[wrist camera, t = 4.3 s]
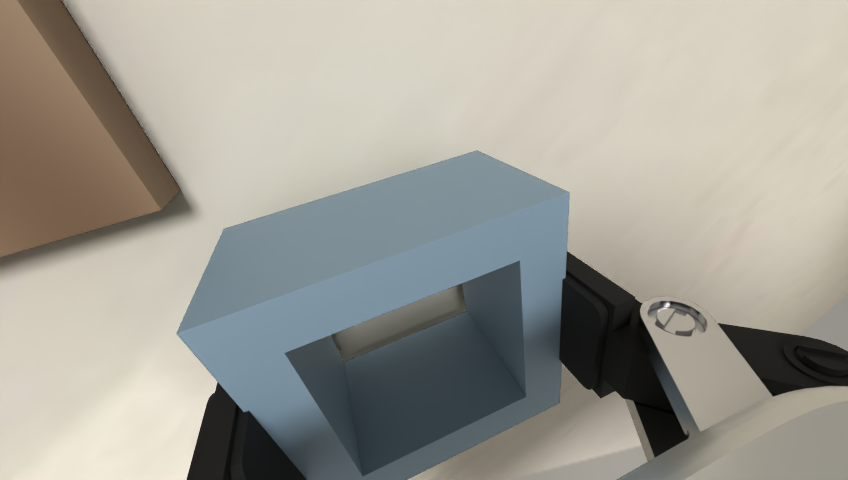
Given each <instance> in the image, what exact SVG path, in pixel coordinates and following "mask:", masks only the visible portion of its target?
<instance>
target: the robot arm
mask: <svg viewBox="0 0 848 480" xmlns="http://www.w3.org/2000/svg"><path fill="white" fill-rule="evenodd" d="M559 360H560V361H561V362H562V363H563V364H564V365H565V366H566V367H567V369H568V370H569V371H570V372H571V373H572V374H573V375H574V376H575V377H576V379H577V380H578V381H579V382H580V383H581V384H582V385H583V386H584V387H585V388H586V389H589V390H590V389H593V390H594V391H595V393H596V394H597V395H598V396H599V397H600V398H602V397H604V396H606V395H608V394H610V393H612V392H614V391H616V392H617V393H618V394H619V395H620V396H621V397H622V398H624V399H625V400H626V403H627V406H628V409H629V411H630V414H631V417H632V420H633V422H634V425H635V428H636V431H637V434H638V436H639V439H640V442H641V445H642V447H643V450H644V453H645V456H646V458H647V461H648V462H647V463H645V464H643V465H641V466H640V467H638V468H636V469H634V470H633V471H631V472H629V473H627V474H626V475H624V476H622V477H620V478H619V479H617V480H848V351H846V350H844V349H842V348H840V347H838V346H836V345H832V344H830V343H827V342H825V341H822V340H818V339H813V338H809V337H805V336H798V335H792V334H785V333H779V332H772V331H765V330H759V329H752V328H746V327H739V326H733V325H726V324H719V323H717V322H716V321H715V320H714V318H713V317H712V316H711V315H710V314H709V313H708V312H707V311H706V310H704V309H703V308H701V307H700V306H698V305H696V304H694V303H692V302H689V301H687V300H684V299H680V298H675V297H665V296H662V297H654V298H651V299H649V300H646V301H645V302H644V303H643V304H642V303H640V302H639V301H637V300H636V299H635V297H634V296H633V295H631V294H630V293H628V292H627V291H625V290H624V289H622V288H621V287H619V286H618V285H616V284H615V283H613V282H612V281H610V280H609V279H607V278H606V277H604V276H603V275H601V274H600V273H598V272H597V271H596V270H594V269H593V268H591V267H590V266H588V265H587V264H585V263H584V262H582V261H581V260H579V259H578V258H576V257H575V256H573V255H572V254H570V253H569V252H567V257H566V278H564V279H562V302H561V326H560V351H559ZM187 480H306V478H305V477H304V475H303V474H302V473H301V472H300V471H299V470H298V468H297V467H296V466H295V465H294V464H293V462H292V461H291V460H290V459H289V458H288V456H287V455H286V454H285V453H284V452H283V450H282V449H281V448H280V447H279V446H278V445H277V443H276V442H275V441H274V440H273V439H272V437H271V436H270V435H269V434H268V433H267V431H266V430H265V429H264V428H263V427H262V426H261V424H260V423H259V422H258V421H257V420H256V418H255V417H254V416H253V415H252V414H251V412H250V411H246V412H243V411H242V409H241V408H240V407H239V406H238V405H237V404H236V402H235V401H234V400H233V399H232V398H231V397H230V395H229V394H228V393H227V392H226V391H225V390H224V388H223V387H222V386H221V385H220V384H219V383H217V387H216V391H215V393H213V394H212V395H211V396H210V398H209V400H208V402H207V405H206V409H205V413H204V417H203V420H202V424H201V428H200V432H199V435H198V439H197V443H196V447H195V450H194V454H193V458H192V462H191V465H190V469H189V473H188V477H187Z"/></svg>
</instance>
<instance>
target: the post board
mask: <svg viewBox="0 0 848 480" xmlns="http://www.w3.org/2000/svg"><path fill="white" fill-rule="evenodd" d="M179 191H180V189H179V187H178V185H177V184H176V182H175V181H174V179H173V177H172V176H171V174H170V173H169V171H168V170H167V168H166V166H165V165H164V163H163V162H162V160H161V158H160V157H159V155H158V154H157V152H156V151H155V149H154V147H153V146H152V144H151V143H150V141H149V139H148V138H147V136H146V135H145V133H144V132H143V130H142V128H141V127H140V125H139V124H138V122H137V120H136V119H135V117H134V116H133V114H132V112H131V111H130V109H129V108H128V106H127V105H126V103H125V101H124V100H123V98H122V97H121V95H120V93H119V92H118V90H117V89H116V87H115V86H114V84H113V82H112V81H111V79H110V78H109V76H108V74H107V73H106V71H105V70H104V68H103V66H102V65H101V63H100V62H99V60H98V59H97V57H96V55H95V54H94V52H93V51H92V49H91V47H90V46H89V44H88V43H87V41H86V40H85V38H84V36H83V35H82V33H81V32H80V30H79V28H78V27H77V25H76V24H75V22H74V21H73V19H72V17H71V16H70V14H69V13H68V11H67V9H66V8H65V6H64V5H63V3H62V1H61V0H0V257H3V256H6V255H9V254H13V253H16V252H20V251H23V250H26V249H30V248H33V247H37V246H40V245H44V244H47V243H50V242H54V241H57V240H61V239H64V238H68V237H71V236H74V235H78V234H81V233H85V232H88V231H91V230H95V229H98V228H102V227H105V226H109V225H112V224H115V223H119V222H122V221H126V220H129V219H133V218H136V217H139V216H143V215H146V214H150V213H153V212H156V211H160V210H162V209H163V208H164V207H165V206H166V205H167V204H168V203H169V202H170V200H171V199H172V198H173V197H174V196H175V195H176V194H177V193H178V192H179Z"/></svg>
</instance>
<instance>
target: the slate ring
mask: <svg viewBox="0 0 848 480" xmlns="http://www.w3.org/2000/svg"><path fill="white" fill-rule="evenodd" d="M569 193H570V192H568V191H565V190H563V189H561V188H559V187H557V186H554V185H552V184H550V183H548V182H546V181H543V180H541V179H539V178H537V177H534V176H532V175H530V174H528V173H526V172H523V171H521V170H519V169H517V168H515V167H512V166H510V165H508V164H506V163H503V162H501V161H499V160H497V159H495V158H492V157H490V156H488V155H486V154H484V153H481V152H479V151H474V152H471V153H467V154H464V155H461V156H458V157H454V158H451V159H448V160H445V161H441V162H438V163H435V164H432V165H429V166H425V167H422V168H419V169H416V170H412V171H409V172H406V173H403V174H399V175H396V176H393V177H390V178H386V179H383V180H380V181H377V182H374V183H370V184H367V185H364V186H361V187H357V188H354V189H351V190H348V191H344V192H341V193H338V194H335V195H332V196H328V197H325V198H322V199H319V200H315V201H312V202H309V203H306V204H302V205H299V206H296V207H293V208H290V209H286V210H283V211H280V212H277V213H273V214H270V215H267V216H264V217H260V218H257V219H254V220H251V221H248V222H244V223H241V224H238V225H235V226H231V227H228V228H225V229H224V230H223V232H222V234H221V236H220V239H219V241H218V243H217V245H216V247H215V250H214V252H213V254H212V256H211V258H210V261H209V263H208V265H207V267H206V269H205V272H204V274H203V276H202V278H201V280H200V283H199V285H198V287H197V289H196V291H195V294H194V296H193V298H192V300H191V302H190V305H189V307H188V309H187V311H186V313H185V316H184V318H183V320H182V322H181V324H180V327H179V329H178V331H177V333H176V334H177V335H178V336H179V337H180V338H181V340H182V341H183V342H184V343H185V344H186V345H187V346H188V348H189V349H190V350H191V351H192V352H193V353H194V355H195V356H196V357H197V358H198V359H199V360H200V362H201V363H202V364H203V365H204V366H205V367H206V369H207V370H208V371H209V372H210V373H211V374H212V376H213V377H214V378H215V379H216V380H217V381H218V383H219V384H220V385H221V386H222V387H223V388H224V390H225V391H226V392H227V393H228V394H229V395H230V397H231V398H232V399H233V400H234V401H235V402H236V404H237V405H238V406H239V407H240V408H241V409H242V411H243V412H246V411H250V412H251V414H252V415H253V416H254V417H255V418H256V420H257V421H258V422H259V423H260V424H261V426H262V427H263V428H264V429H265V430H266V431H267V433H268V434H269V435H270V436H271V437H272V439H273V440H274V441H275V442H276V443H277V445H278V446H279V447H280V448H281V449H282V450H283V452H284V453H285V454H286V455H287V456H288V458H289V459H290V460H291V461H292V462H293V464H294V465H295V466H296V467H297V468H298V470H299V471H300V472H301V473H302V474H303V475H304V477H305V478H306V480H407V479H409V478H411V477H413V476H415V475H417V474H419V473H421V472H423V471H425V470H427V469H429V468H431V467H433V466H435V465H437V464H439V463H441V462H443V461H445V460H447V459H449V458H451V457H453V456H455V455H457V454H459V453H461V452H463V451H465V450H467V449H469V448H471V447H473V446H475V445H477V444H479V443H481V442H483V441H485V440H487V439H489V438H491V437H493V436H495V435H497V434H499V433H501V432H503V431H505V430H507V429H509V428H510V427H512V426H514V425H516V424H518V423H520V422H522V421H524V420H526V419H528V418H530V417H532V416H534V415H536V414H538V413H540V412H542V411H544V410H546V409H548V408H550V407H552V406H554V405H556V404H558V403H560V383H561V361H560V360H559V351H560V326H561V302H562V279H564V278H566V257H567V235H568V214H569ZM461 283H462V288H463V294H464V300H465V306H466V312H464V313H461V314H459V315H457V316H454V317H452V318H449V319H447V320H444V321H442V322H440V323H437V324H435V325H432V326H430V327H428V328H425V329H423V330H420V331H418V332H415V333H413V334H411V335H408V336H406V337H403V338H401V339H398V340H396V341H394V342H391V343H389V344H386V345H384V346H382V347H379V348H377V349H374V350H372V351H369V352H367V353H365V354H362V355H360V356H357V357H355V358H352V359H350V360H348V361H345V362H344V361H343V359H342V357H341V355H340V353H339V351H338V349H337V347H336V345H335V343H334V341H333V339H332V337H331V335H332V334H334V333H337V332H339V331H342V330H344V329H347V328H349V327H352V326H354V325H357V324H360V323H362V322H365V321H367V320H370V319H372V318H375V317H377V316H380V315H382V314H385V313H388V312H390V311H393V310H395V309H398V308H400V307H403V306H405V305H408V304H410V303H413V302H416V301H418V300H421V299H423V298H426V297H428V296H431V295H433V294H436V293H438V292H441V291H443V290H446V289H449V288H451V287H454V286H456V285H459V284H461Z"/></svg>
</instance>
